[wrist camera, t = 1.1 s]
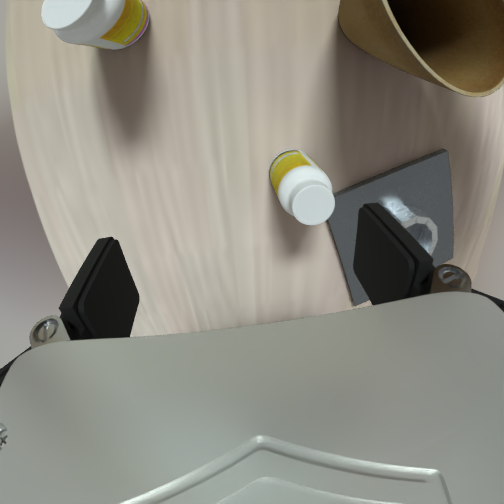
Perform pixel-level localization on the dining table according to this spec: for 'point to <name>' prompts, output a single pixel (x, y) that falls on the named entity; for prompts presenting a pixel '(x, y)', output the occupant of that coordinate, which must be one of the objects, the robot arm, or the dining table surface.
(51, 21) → the supplement bottle
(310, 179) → the supplement bottle
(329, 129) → the dining table surface
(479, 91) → the plant pot
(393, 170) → the duct collar
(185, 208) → the dining table surface
